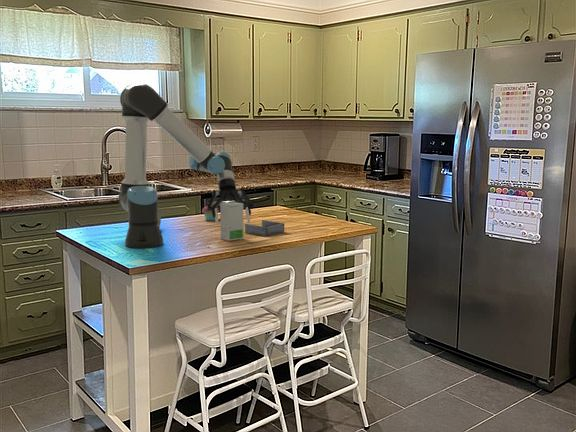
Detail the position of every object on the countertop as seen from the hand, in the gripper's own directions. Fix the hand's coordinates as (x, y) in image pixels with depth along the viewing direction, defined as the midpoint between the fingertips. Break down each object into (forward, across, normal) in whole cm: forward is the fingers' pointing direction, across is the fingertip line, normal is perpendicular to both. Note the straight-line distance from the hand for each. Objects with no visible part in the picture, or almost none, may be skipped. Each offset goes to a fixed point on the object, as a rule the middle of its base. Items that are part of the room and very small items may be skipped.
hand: (233, 222), depth 242 cm
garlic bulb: (-17, +32, -28) cm, 46 cm away
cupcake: (-29, +3, -40) cm, 49 cm away
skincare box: (+4, 0, -7) cm, 8 cm away
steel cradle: (-2, -16, -13) cm, 21 cm away
